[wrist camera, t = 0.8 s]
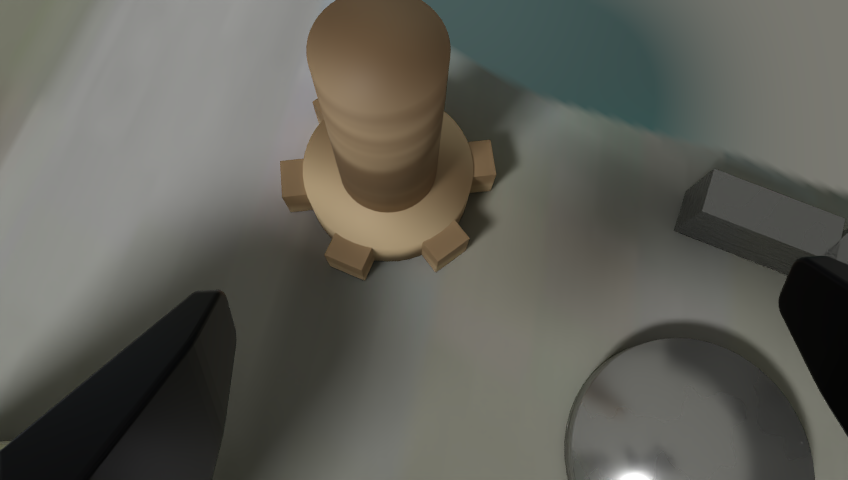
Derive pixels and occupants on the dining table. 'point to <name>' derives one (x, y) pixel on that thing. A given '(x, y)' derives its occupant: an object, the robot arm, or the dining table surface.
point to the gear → (385, 139)
